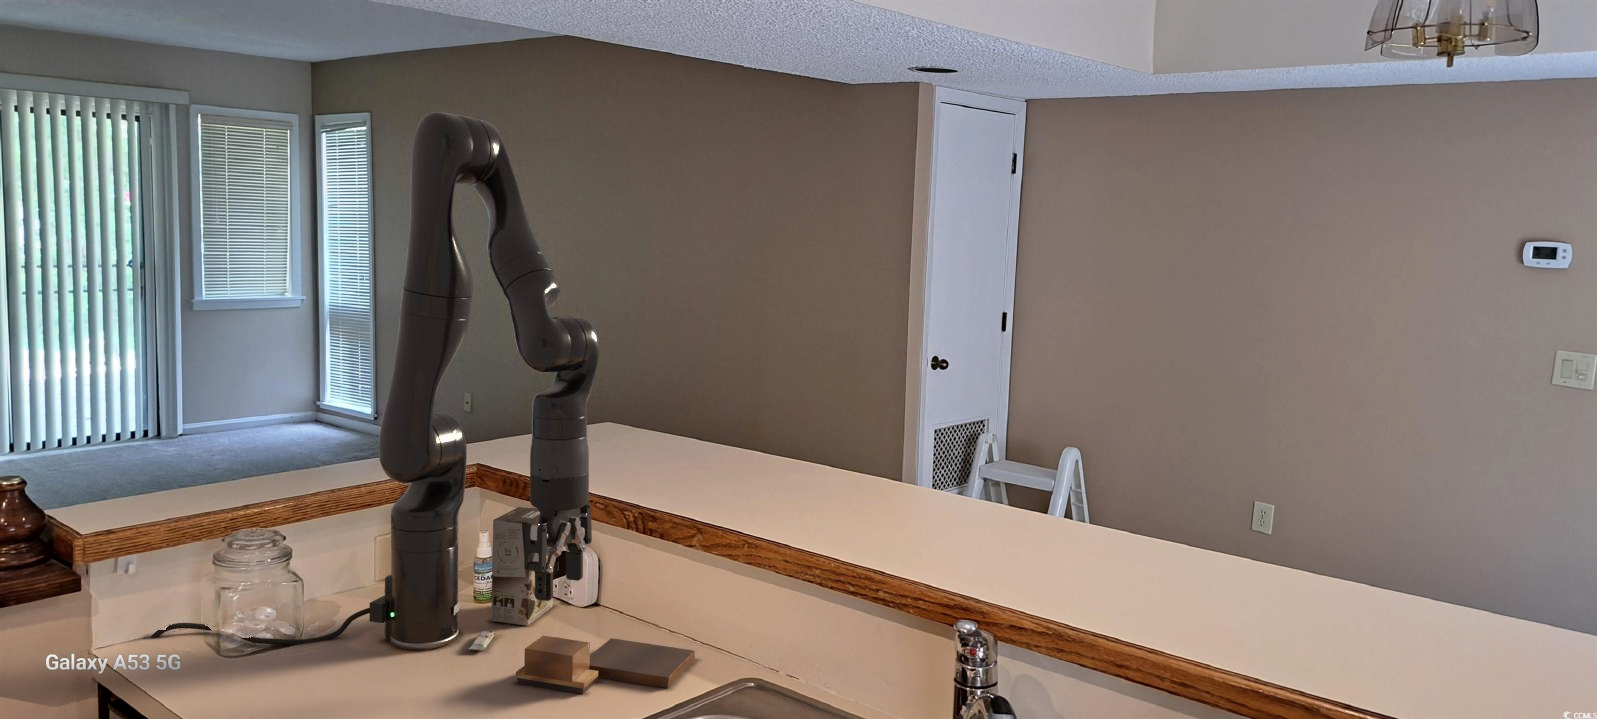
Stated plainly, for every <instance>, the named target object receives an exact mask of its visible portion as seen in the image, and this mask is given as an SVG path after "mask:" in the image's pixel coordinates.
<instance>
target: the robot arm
mask: <svg viewBox="0 0 1597 719" xmlns="http://www.w3.org/2000/svg"><path fill="white" fill-rule="evenodd" d="M416 126H417V127H416V128H415V131H414V133H413V137H412V138H413V139H412V144H411V152H410V154H411V156H410V198H409V199H410V203H409V204H410V205H409V206H410V208H409V209H410V210H409V228H408V240H407V251H406V262H405V269H404V275H403V282H402V288H401V297H400V307H399V319H398V329H397V330H398V331H397V338H396V345H395V352H394V358H393V359H394V360H393V367H392V374H391V379H390V384H389V388H388V394H387V398H386V402H385V407H384V410H383V411H384V412H383V415H382V419H381V423H380V424H381V425H380V430H379V434H378V436H379V437H378V444H377V445H378V446H377V449H378V452H377V453H378V458H379V463H380V466H381V468H382V470H383V472H384V473H385V474H386V476H387V478H390V480H392V481H393V482H396V483H399V484H409V485H408V488H406V491H405V492H404V494H403V495H402V496H401V497H400V498H398V500H396V501H395V503H394V504H393V505H392V506H391V509H390V574H387V576H385V578H384V595H382V596H381V597H378V598H376V599H374V600H372V601H370V602H369V607H367V608H364V609H361V610H359V611H357V612H355V613H353V614H351V615H350V616H348V617H347V618H346V619H345V621H344V622H343V623H342V624H341V626H340V627H339V628H338V629H336V630H335V631H333V632H330V633H328V634H327V633H326V634H325V635H321V636H317V637H312V638H302V639H300V638H299V639H290V638H289V639H288V638H287V639H286V638H271V637H270V638H269V637H256V636H253V637H251V638H250V637H249V638H240V640H243V641H245V642H248V643H252V644H261V645H275V646H276V645H278V646H297V645H305V644H311V643H317V642H323V641H324V642H325V641H328V640H332V639H334V638H337V637H338V636H340V635H342V634H343V633H344V632H345V631H346V630H347V629H348V627H349V625H350V624H352V623H353V621H355V620H357V619H358V618H361V617H363V616H366V615H369V622H371V623H377V624H383V623H384V641H385V642H389V643H390V644H392V645H393V646H395V647H397V648H399V649H405V650H420V651H422V650H431V649H437V648H440V647H445V646H447V645H449V644H451V643H453V642H455V641H456V640H457V639H458V638H459V636H460V634H459V633H460V632H459V630H460V629H459V611H460V610H461V606H462V605H461V600H459V515H460V511H461V508H462V505H463V503H464V500H465V491H466V474H467V473H466V472H467V454H468V452H467V449H468V448H467V440H466V435H465V431H464V429H463V426H462V424H461V423H460V421H459V420H458V418H456V416H454V415H452V413H449V412H447V411H444V410H443V411H442V410H434V409H435V404H436V398H437V393H438V390H439V386H440V384H441V381H442V379H443V377H444V375H445V373H446V371H447V369H448V368H449V366H450V364H451V363H452V361H453V359H454V358H455V356H456V354H457V352H458V350H459V349H460V347H461V345H462V343H463V341H464V339H465V336H466V335H467V331H468V327H469V324H470V317H471V310H472V301H473V292H474V281H473V275H472V272H471V269H470V265H469V262H468V260H467V258H466V255H465V253H464V250H463V248H462V246H461V244H460V241H459V238H458V236H457V233H456V229H455V225H454V217H453V215H454V214H453V212H454V211H453V210H454V195H455V187H456V185H463V186H472V188H473V189H474V190H475V192H476V193H477V194H478V196H479V197H480V199H481V201H482V202H483V204H484V206H485V208H486V211H487V215H488V231H487V240H486V241H487V242H486V252H487V259H488V262H489V265H490V268H491V271H492V273H493V275H494V277H495V279H496V281H497V283H498V285H499V287H500V289H501V292H502V293H503V295H504V297H505V299H506V301H507V302H508V306H509V313H510V319H511V324H512V330H513V335H514V341H515V342H514V343H515V346H516V350H517V353H518V355H519V357H520V358H521V361H522V362H523V363H524V364H525V365H526V366H527V367H528V368H529V369H531V370H532V371H534V372H536V373H540V374H549V373H555V375H554V378H553V381H552V383H551V384H550V385H549V386H547V387H546V388H544V389H542V390H540V391H538V392H537V393H535V394H534V395H533V399H532V403H531V442H530V450H529V502H530V503H529V504H530V505H531V506H532V507H533V508H537V509H538V510H539V511H540V517H539V521H538V523H537V524H529V523H528V524H527V525H526V527H525V556H524V569H525V570H528V571H534V572H535V598H536V599H537V600H544V601H549V600H550V599H552V598H553V597H554V571H553V572H552V569H553V570H554V566H555V563H556V559H557V558H559V557H560V556H561V554H562V552H563V548H565V551H566V552H565V579H567V580H568V581H576V582H578V581H581V580H582V579H583V578H584V553H585V552H586V549H587V545H591V543H592V541H593V534H592V533H593V532H592V531H593V530H592V527H593V526H592V503H591V502H590V501H589V499H590V487H589V486H590V485H589V484H590V451H589V450H590V449H589V443H588V402H589V399H590V395H591V392H592V388H593V385H594V380H595V377H596V372H597V370H598V366H599V365H598V364H599V361H600V354H601V343H600V337H599V334H598V331H597V329H596V327H595V325H594V324H593V323H592V322H591V321H590V320H589V319H588V318H586V317H584V316H579V315H569V316H556V317H555V316H554V317H553V316H552V315H550V313H549V312H548V309H549V308H552V306H554V305H555V304H556V303H557V302H558V300H559V299H560V297H561V292H562V291H561V290H562V289H561V286H560V282H559V280H558V278H557V276H556V274H555V272H554V270H553V268H552V266H551V264H550V262H549V261H548V259H547V257H546V255H545V253H544V251H543V249H542V246H541V245H540V242H539V241H538V239H537V237H536V234H535V232H534V229H533V227H532V224H531V221H530V219H529V216H528V214H527V210H526V207H525V204H524V201H523V197H522V193H521V191H520V188H519V183H518V181H517V179H516V176H515V172H514V168H513V166H512V161H511V159H510V155H509V153H508V150H507V147H506V144H505V142H504V140H503V138H502V136H501V134H500V132H499V130H498V129H497V127H495V126H494V125H493V123H490V122H488V121H486V120H483V119H480V118H477V117H471V116H466V115H460V114H455V113H448V112H442V111H431V112H429V113H426V115H424V116H423V117H422V118H421V119H420V120H419V122H418V124H417V125H416ZM551 316H552V317H551ZM583 529H584V530H583ZM532 553H535V556H534V559H533V561H532ZM546 555H547V556H549V557H548V560H547V563H546ZM171 624H172V625H171ZM171 624H168V625H169V626H168V627H167V628H166V630H159V629H157V630H156V631H155V632H153V633H152V634H151V636H150V637H149V638H150V639H156V638H158V637H160V636H161V635H163V634H165V633H167V632H169V631H173V630H179V629H189V630H191V629H192V630H201V631H209V632H210V631H211V632H213V631H212V630H211V629H210V628H209V627H208V626H205V624H204V623H196V622H176V623H171Z"/></svg>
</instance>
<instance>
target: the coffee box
mask: <svg viewBox="0 0 1597 719" xmlns="http://www.w3.org/2000/svg"><path fill="white" fill-rule="evenodd" d="M539 517H540V511H539V510H538V509H537V508H536V507H523V506H518V507H516V508H514V509H512V510H510V511H508V512H506V513H503V514H502V515H501V516H498V517H496V518H494V519H493V520H492V558H491V559H492V563H491V565H492V566H491V570H492V571H491V611H490V612H491V616H490V619H491V622H495V623H497V622H498V623H504V624H511V625H518V626H525V627H527V626H529V625H530V624H532V623H533V622H534V621H535V620H537V619H538V618H539V617H541V616H542V615H544V614H545V613H546V612H548V611H549V610H550V609H552V608H553V603H554V602H553V598H552V599H550V600H549V601H544V600H537V599H536V598H535V572H534V571H528V570H525V569H524V556H525V527H526V525H527V524H528V523H529V524H537V523H538V521H539ZM534 556H535V553H532V561H533V559H534ZM548 557H549V556H547V555H546V563H547V560H548ZM552 572H553V573H554V568H553V569H552Z"/></svg>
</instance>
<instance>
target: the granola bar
mask: <svg viewBox="0 0 1597 719" xmlns="http://www.w3.org/2000/svg"><path fill="white" fill-rule="evenodd" d="M497 634H498V632H494V631H493V630H482V631H481V632H480V633H479V635H478V636H477V637H476V639H475V640H474V641H473V642H472V644H471V645H470V646H469V647H468V650H472V651H485V650H486V648H487V646H488V645H489V644H490V643H491V641H492V639H493V638H494V636H495V635H497Z"/></svg>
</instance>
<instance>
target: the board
mask: <svg viewBox="0 0 1597 719" xmlns="http://www.w3.org/2000/svg"><path fill="white" fill-rule="evenodd" d="M695 655H696V650H694V649H686V648H680V647H675V646H674V647H673V646H667V645H659V644H654V643H646V642H639V641H633V640H625V639H618V638H612V637H611V638H609V639H608V640H607V641H606V642H605V643H603V644H602V645H601V646H600V647H598V648H597V649H596V650H595V651H593V652H592V653H590V665H589V670H596V671H598V677H597V678H602V679H608V680H615V681H619V682H620V681H621V682H627V683H631V684H632V683H633V684H639V685H645V686H652V687H657V688H658V687H659V688H666V689H669V688H670V687H671V686H672V685H673V684H674V683H675V682H676V681H677V680H678V678H680V676H681V675H682V674H683V673H685V671H686V670H687V669H688V668H689V667H690V666H691V665H692V664H693V663H694V662H695V660H696V658H695Z"/></svg>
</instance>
